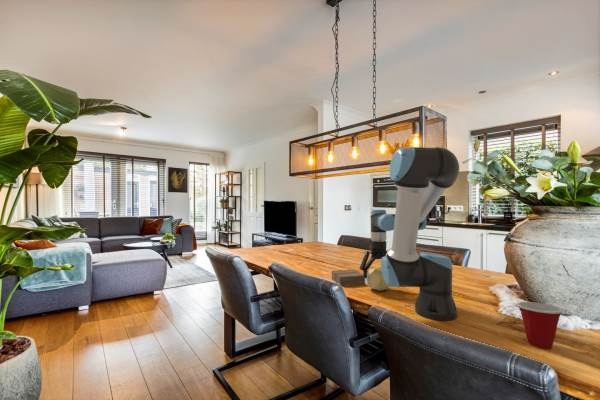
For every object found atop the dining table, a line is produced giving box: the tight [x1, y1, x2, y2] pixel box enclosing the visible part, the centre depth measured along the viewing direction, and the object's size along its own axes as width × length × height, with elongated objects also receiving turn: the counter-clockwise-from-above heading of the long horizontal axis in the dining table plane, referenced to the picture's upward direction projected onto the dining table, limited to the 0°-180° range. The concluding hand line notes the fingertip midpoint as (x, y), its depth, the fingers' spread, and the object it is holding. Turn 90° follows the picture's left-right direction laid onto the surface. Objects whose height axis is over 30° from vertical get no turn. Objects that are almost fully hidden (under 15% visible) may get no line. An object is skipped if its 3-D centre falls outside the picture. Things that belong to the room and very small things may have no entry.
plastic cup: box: [516, 301, 563, 350], centre depth 87 cm, size 11×11×12 cm
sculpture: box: [367, 266, 390, 292], centre depth 141 cm, size 12×12×11 cm
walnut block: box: [331, 269, 366, 287], centre depth 155 cm, size 14×14×5 cm
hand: (378, 283), depth 141 cm, fingers closed on sculpture, 12 cm apart
